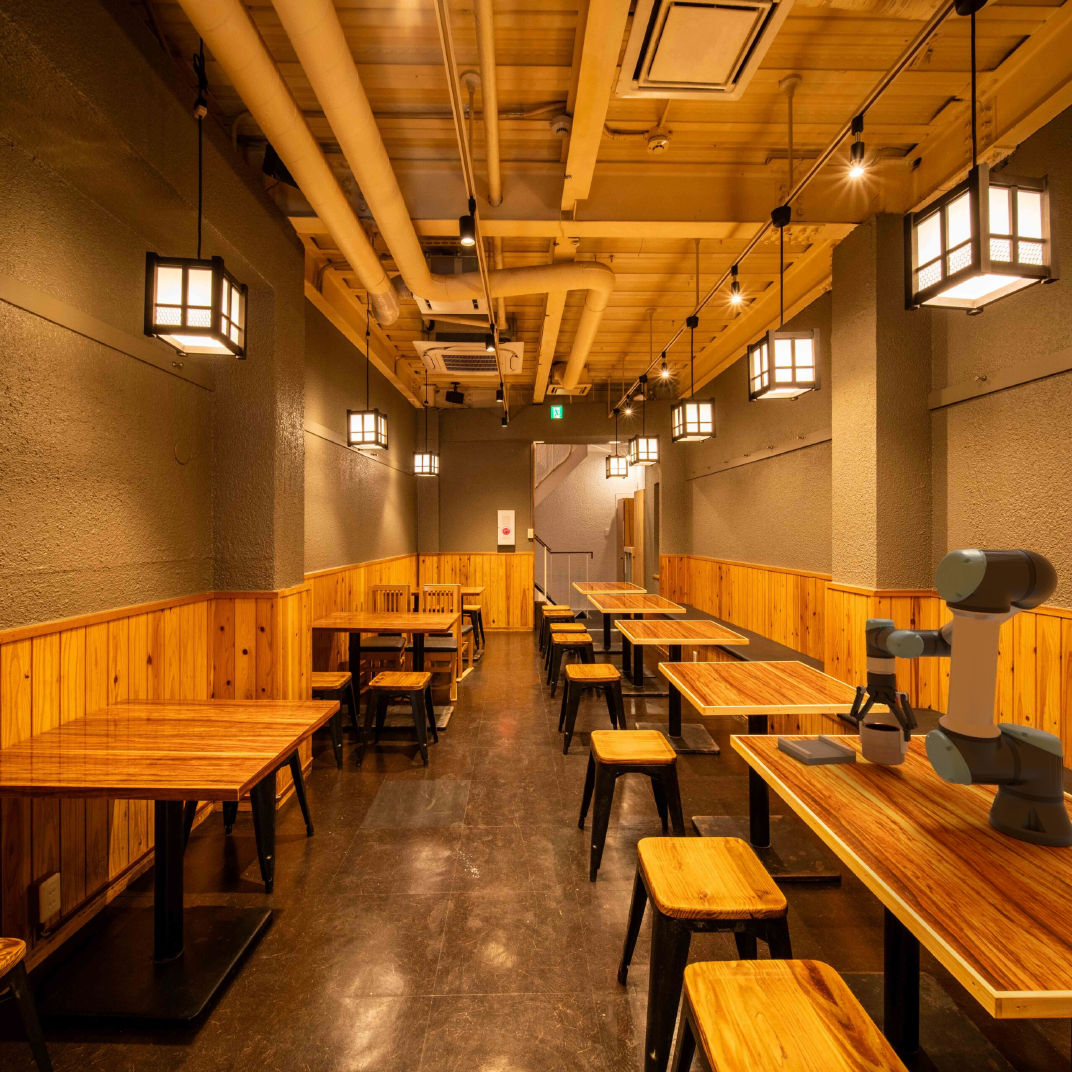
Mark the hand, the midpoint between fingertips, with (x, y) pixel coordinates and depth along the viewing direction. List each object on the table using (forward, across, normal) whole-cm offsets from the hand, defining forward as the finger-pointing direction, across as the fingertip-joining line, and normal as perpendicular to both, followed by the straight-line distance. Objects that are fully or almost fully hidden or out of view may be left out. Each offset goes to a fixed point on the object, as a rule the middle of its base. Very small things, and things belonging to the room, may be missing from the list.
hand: (883, 747), depth 174 cm
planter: (+4, 0, 0) cm, 4 cm away
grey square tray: (+6, +18, +4) cm, 20 cm away
